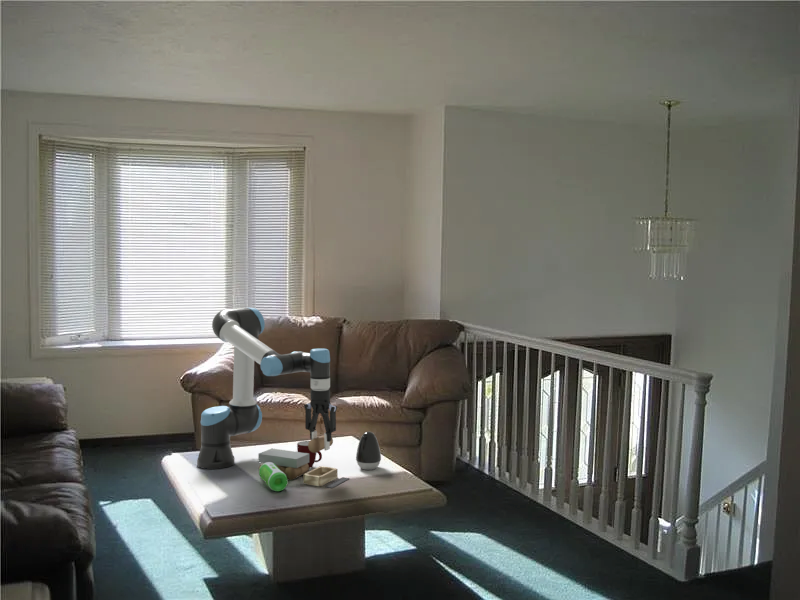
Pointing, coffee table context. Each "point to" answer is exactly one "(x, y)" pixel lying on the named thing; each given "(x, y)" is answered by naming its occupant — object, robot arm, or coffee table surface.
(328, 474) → the open rectangular frame
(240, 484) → the coffee table surface
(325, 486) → the stop strip
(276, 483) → the speaker
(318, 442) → the roller
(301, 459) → the slab
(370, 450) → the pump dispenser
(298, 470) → the roller bed
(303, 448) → the mug
